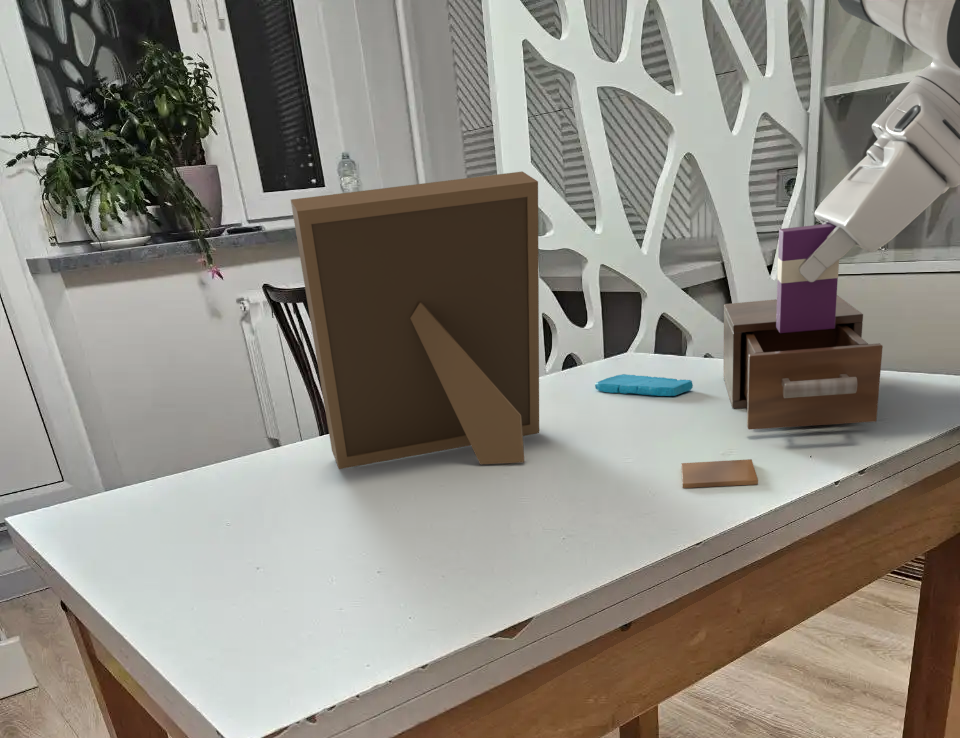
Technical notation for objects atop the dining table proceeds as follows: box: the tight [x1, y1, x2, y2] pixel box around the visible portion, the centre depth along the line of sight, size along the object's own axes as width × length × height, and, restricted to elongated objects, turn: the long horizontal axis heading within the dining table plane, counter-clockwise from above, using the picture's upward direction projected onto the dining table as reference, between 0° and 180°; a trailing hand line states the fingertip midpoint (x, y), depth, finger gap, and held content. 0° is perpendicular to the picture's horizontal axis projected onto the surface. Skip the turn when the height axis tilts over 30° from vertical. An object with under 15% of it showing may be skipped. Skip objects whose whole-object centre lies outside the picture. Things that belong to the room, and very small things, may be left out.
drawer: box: [743, 324, 884, 430], centre depth 88 cm, size 20×11×7 cm, turn 170°
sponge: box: [594, 373, 694, 397], centre depth 110 cm, size 2×12×6 cm
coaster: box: [680, 458, 759, 489], centre depth 77 cm, size 6×6×1 cm
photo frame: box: [290, 171, 540, 470], centre depth 87 cm, size 15×22×25 cm
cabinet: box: [722, 294, 864, 409], centre depth 101 cm, size 17×13×9 cm
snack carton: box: [776, 223, 840, 333], centre depth 86 cm, size 5×4×9 cm
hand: (800, 274), depth 86 cm, fingers closed on snack carton, 3 cm apart
